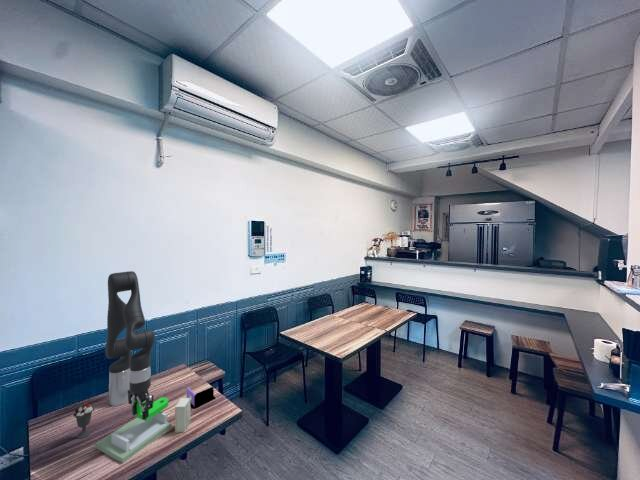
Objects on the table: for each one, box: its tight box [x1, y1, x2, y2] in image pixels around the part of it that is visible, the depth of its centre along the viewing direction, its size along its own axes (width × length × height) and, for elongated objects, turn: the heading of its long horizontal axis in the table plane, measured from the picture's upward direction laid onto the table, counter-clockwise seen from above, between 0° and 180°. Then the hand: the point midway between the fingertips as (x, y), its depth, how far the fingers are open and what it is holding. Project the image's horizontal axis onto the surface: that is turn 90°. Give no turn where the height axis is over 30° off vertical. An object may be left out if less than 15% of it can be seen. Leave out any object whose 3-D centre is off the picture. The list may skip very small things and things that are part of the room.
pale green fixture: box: [95, 411, 172, 464], centre depth 111 cm, size 18×20×6 cm
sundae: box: [72, 398, 95, 440], centre depth 112 cm, size 7×7×15 cm
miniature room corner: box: [186, 386, 216, 410], centre depth 137 cm, size 12×12×7 cm
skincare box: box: [174, 397, 191, 433], centre depth 116 cm, size 6×4×12 cm
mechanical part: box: [136, 396, 169, 421], centre depth 116 cm, size 12×6×8 cm, turn 158°
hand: (140, 416), depth 111 cm, fingers closed on mechanical part, 6 cm apart
